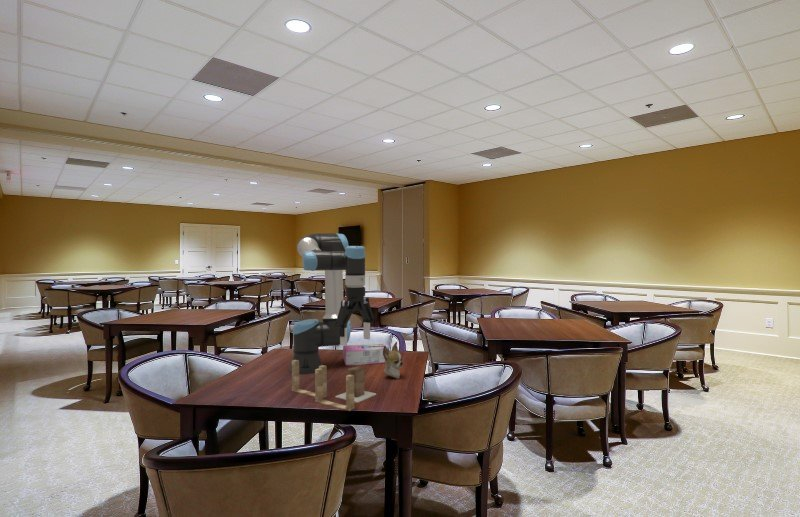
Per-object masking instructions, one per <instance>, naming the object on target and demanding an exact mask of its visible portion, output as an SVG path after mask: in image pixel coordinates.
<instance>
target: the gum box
mask: <svg viewBox="0 0 800 517" xmlns="http://www.w3.org/2000/svg"><path fill="white" fill-rule="evenodd" d="M384 346H385V344H383V343H374V344H373V343H372V344H356V345H355V344H354V345H353V344H350V345H348V344H347V346H343V345H342V352H343V353H342V355H343V356H342V357H343V361H344V365H345V366H358V365H359V366H360V365H373V364H385V358H384V356H383V349H384Z"/></svg>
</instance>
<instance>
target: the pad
mask: <svg viewBox="0 0 800 517" xmlns="http://www.w3.org/2000/svg"><path fill="white" fill-rule="evenodd" d="M376 395H377V393H375V392H371V391H368V390H367V391H366V390H364V395H362V396H360V397H357V398H356V397H354V403H356V404H357V403H358V404H359V403H360V402H361V403H362V402H363V401H365V400H367V399H369V398H373V397H375V396H376ZM334 398H336V399H341V400H344V401H346V391H345V392H343V393H340V394H337V395H335V397H334Z"/></svg>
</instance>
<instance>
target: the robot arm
mask: <svg viewBox="0 0 800 517" xmlns="http://www.w3.org/2000/svg"><path fill="white" fill-rule="evenodd" d="M346 236H347V235H345V234H343V233H333V232H332V233H331V232H330V233H321V232H320V233H319V232H317V233H315V232H313V233H309V234H306V235H304V236H302V237H301V238H300V239H299V240H298V241H297V244H296V250H297V251H296V252H297V253H298V254H299V255H300V256H301V257H302V258H301V260H302V261H301V262H302V269H303V270H304V271H311V272H314V271H317V272H318V271H324V289H325V290H324V295H325V300H324V301H325V314H324V315H323V317H322V321H319V319H318V318H310V319H309V318H308V319H303V320H300V321H297V322H295V323H294V324H293V330H292V335H293V336H292V338H293V342H292V344H293V345H292V346H293V347H292V350H293V351H292V352H293V354H292V358H291V361H290V362H291V363H290V365H289V372H290V373H291V374H292V361H293V360H299V375H311V374H315V369H318V368H319V366H322V365H323V363H322V360H321V356H320V352H319V351H320V350H319V348H321V347H322V348H323V347H334V346H336V347H337V346H338V347H339V346H342V347H343V346H348V342H350V338H351V334H352V333H351V332H352V324H351V321H350V319H351V316H352V315H353V313H355V312H359V313H360V315H361V317H362V318H363V320H364V322H363V324H362V325H363V340H368V341H369V340H371V329H372V328H371V327H372V326H371V323H373V322H374V320H375V316H374V313H373V311H372V307H371V304H370V298H369V297H365V296H366V287H365V285H366V256H367V255H366V248H365V246H363V245H360V246H359V245H349V241H348V239H347V237H346ZM343 271H345V274H344V272H343ZM343 274H344V275H345V278H344V276H343ZM343 278H344V279H345V282H344V279H343ZM344 284H345V286H346V287H345V293H344ZM344 294H345V297H346V298H347V300H344Z"/></svg>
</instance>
